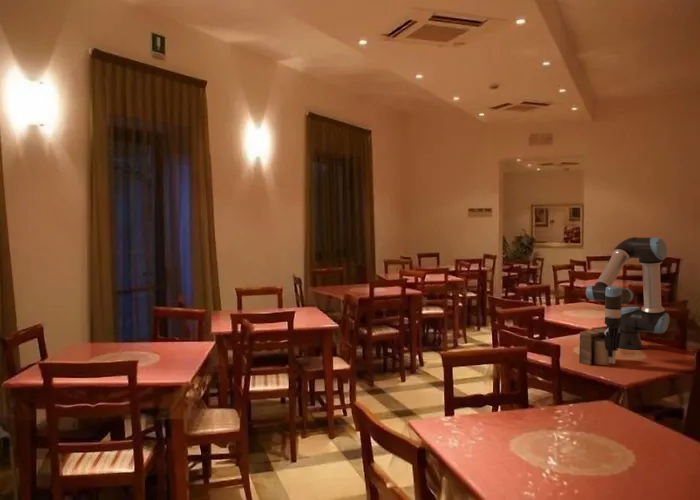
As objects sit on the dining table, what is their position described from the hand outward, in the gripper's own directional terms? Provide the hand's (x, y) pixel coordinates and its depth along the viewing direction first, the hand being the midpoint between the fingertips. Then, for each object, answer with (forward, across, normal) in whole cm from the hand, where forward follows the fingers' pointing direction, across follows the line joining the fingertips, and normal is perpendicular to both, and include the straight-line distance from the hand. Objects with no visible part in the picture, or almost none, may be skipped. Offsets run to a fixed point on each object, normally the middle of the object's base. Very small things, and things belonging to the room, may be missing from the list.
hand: (611, 362), depth 282 cm
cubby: (+1, 0, -9) cm, 9 cm away
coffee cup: (+2, 0, -6) cm, 6 cm away
